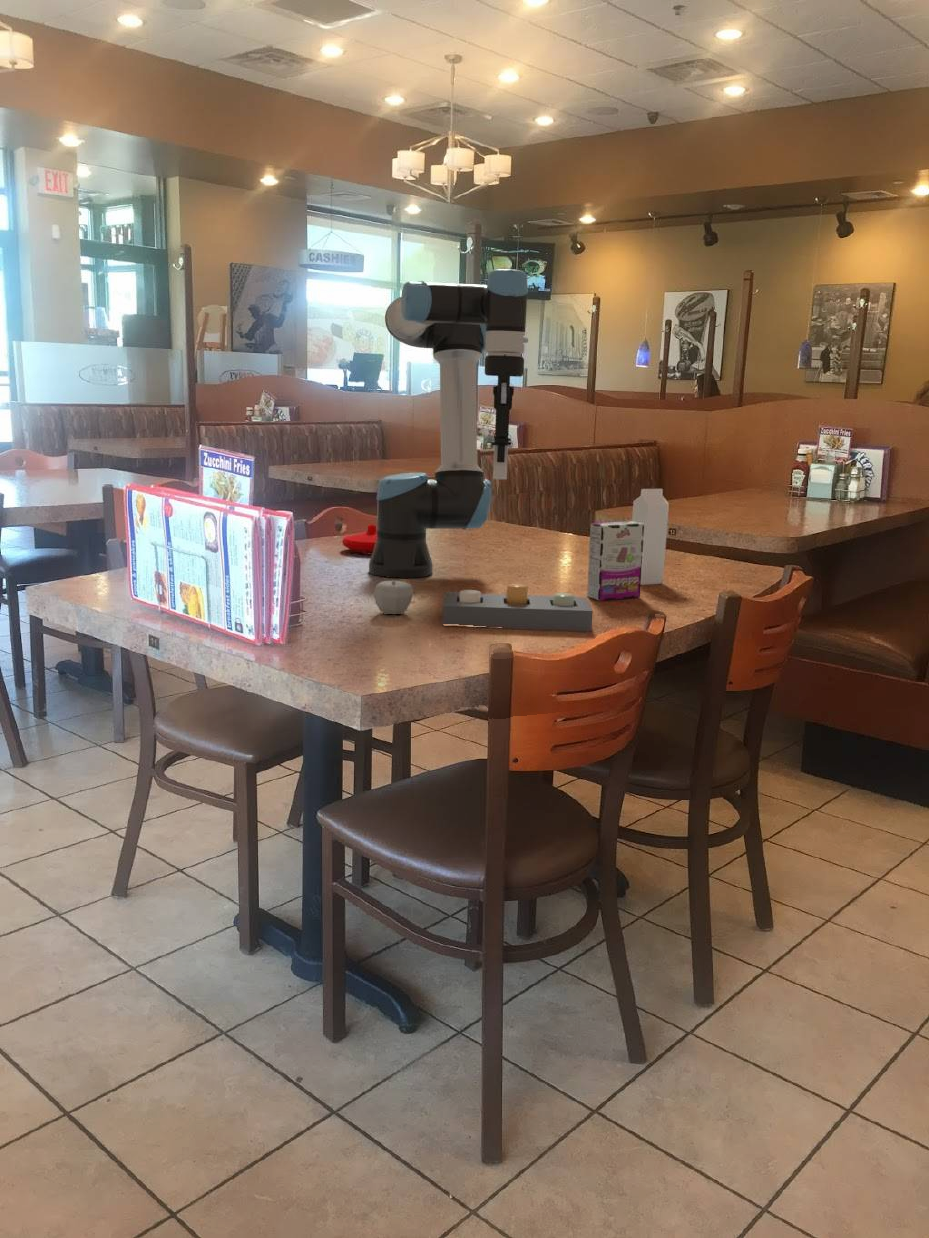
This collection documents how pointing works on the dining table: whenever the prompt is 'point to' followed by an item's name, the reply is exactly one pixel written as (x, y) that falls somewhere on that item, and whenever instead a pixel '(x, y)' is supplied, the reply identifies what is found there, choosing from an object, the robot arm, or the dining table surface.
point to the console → (518, 613)
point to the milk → (652, 533)
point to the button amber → (516, 594)
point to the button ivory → (470, 596)
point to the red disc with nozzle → (362, 540)
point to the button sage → (563, 599)
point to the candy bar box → (615, 560)
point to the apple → (393, 596)
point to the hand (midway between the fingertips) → (499, 478)
